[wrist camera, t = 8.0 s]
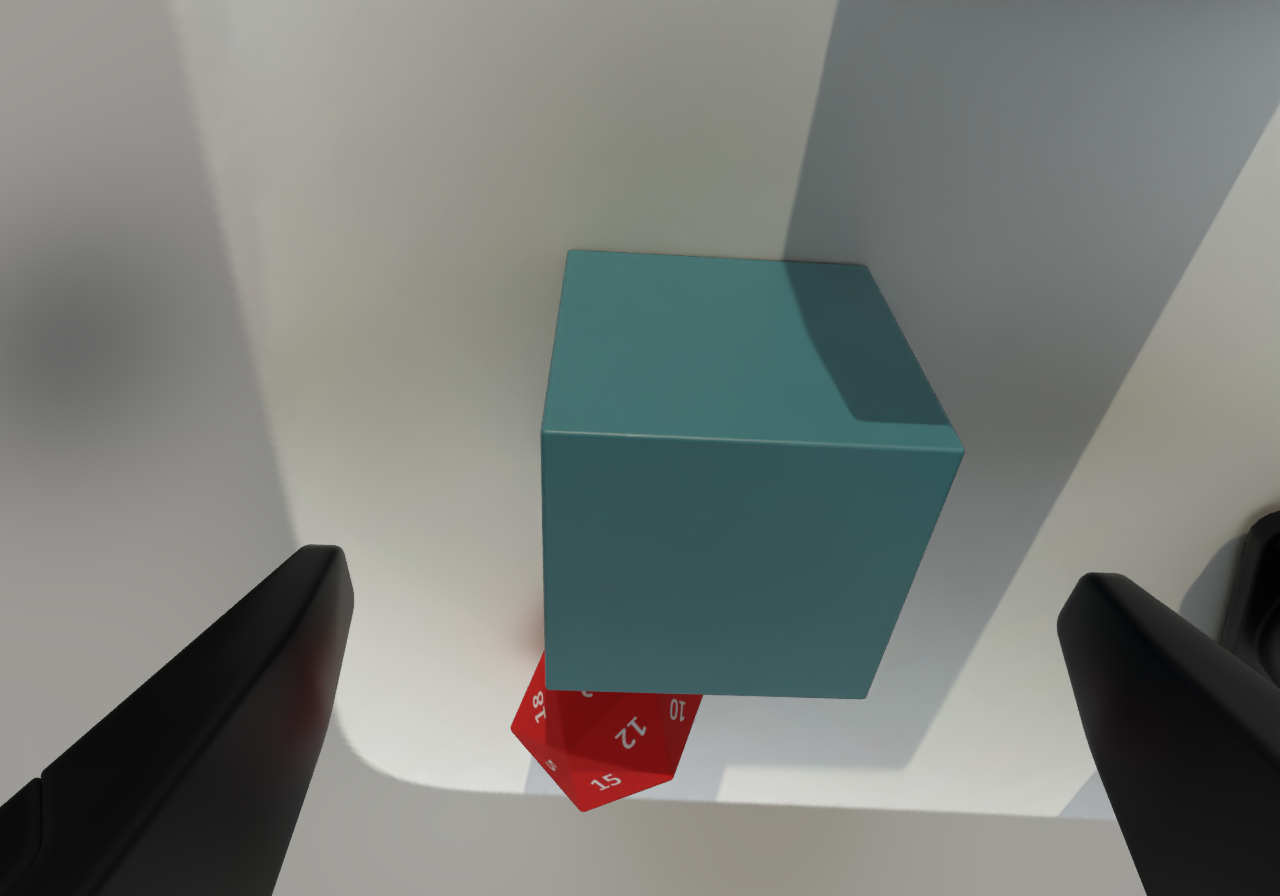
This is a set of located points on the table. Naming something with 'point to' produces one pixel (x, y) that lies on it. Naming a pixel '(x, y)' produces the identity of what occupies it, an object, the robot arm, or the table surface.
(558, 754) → the die
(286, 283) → the table surface
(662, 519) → the teal cube
